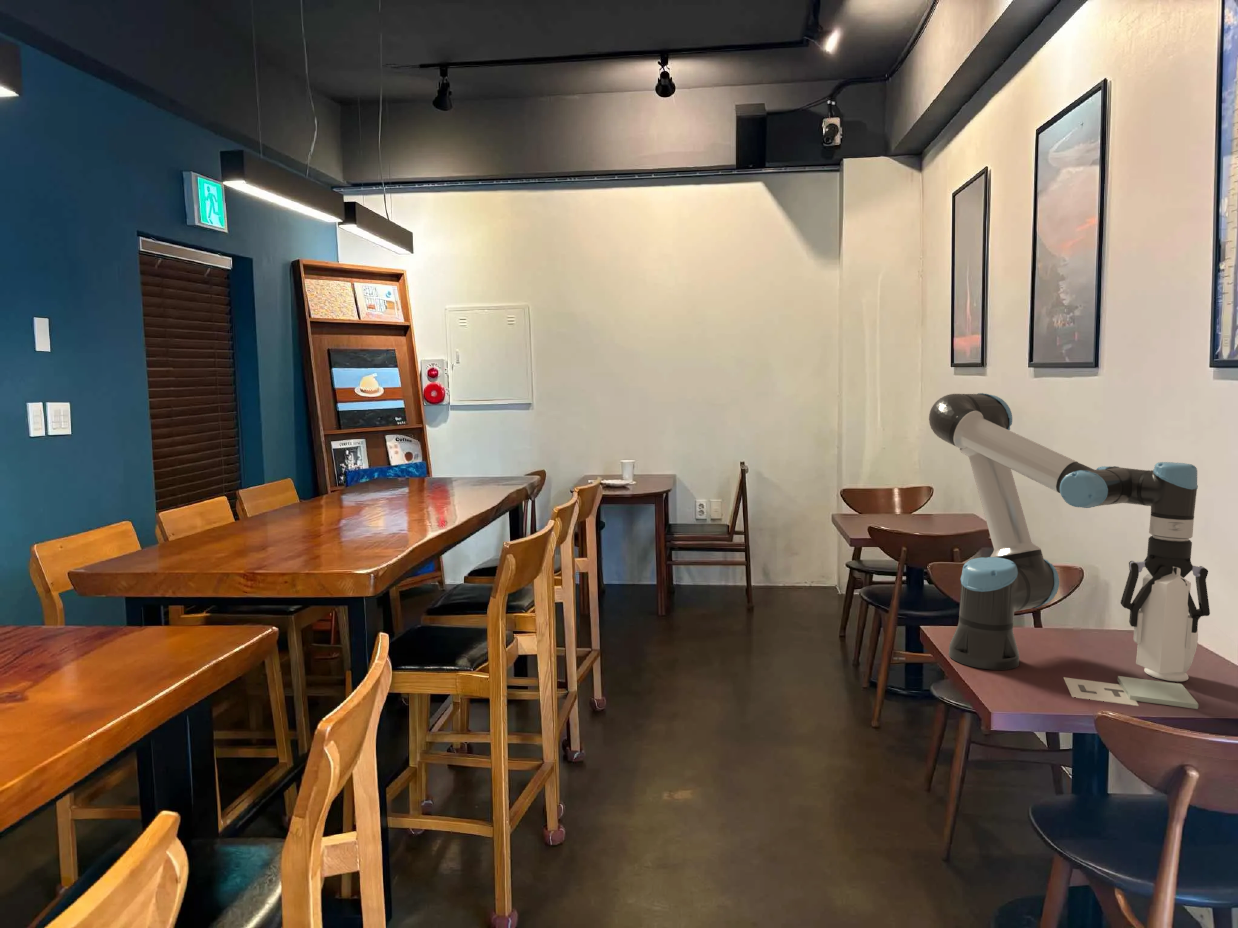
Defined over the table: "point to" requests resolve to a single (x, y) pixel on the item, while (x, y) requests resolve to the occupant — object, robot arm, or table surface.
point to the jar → (1187, 663)
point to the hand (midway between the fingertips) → (1161, 644)
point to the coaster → (1157, 692)
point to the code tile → (1098, 691)
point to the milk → (1164, 624)
